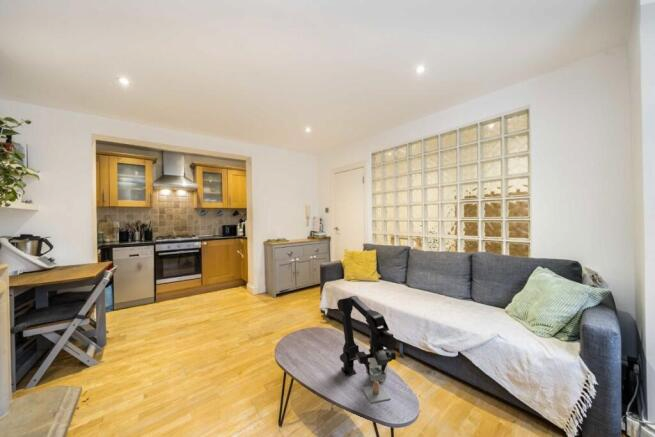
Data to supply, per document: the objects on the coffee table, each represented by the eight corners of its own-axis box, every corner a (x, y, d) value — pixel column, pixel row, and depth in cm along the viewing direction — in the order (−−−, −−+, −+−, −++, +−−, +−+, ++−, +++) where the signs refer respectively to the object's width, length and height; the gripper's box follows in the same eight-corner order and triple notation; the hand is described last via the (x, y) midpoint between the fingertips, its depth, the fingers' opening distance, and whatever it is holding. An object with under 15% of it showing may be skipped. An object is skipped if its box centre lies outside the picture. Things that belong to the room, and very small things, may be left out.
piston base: (362, 388, 123) (362, 377, 123) (380, 385, 126) (380, 374, 126) (370, 403, 114) (370, 391, 114) (390, 399, 116) (390, 387, 116)
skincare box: (368, 376, 133) (368, 347, 133) (373, 370, 138) (373, 342, 138) (383, 382, 128) (383, 352, 128) (387, 376, 134) (388, 347, 133)
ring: (366, 372, 122) (366, 367, 122) (379, 370, 124) (379, 365, 124) (372, 381, 115) (372, 375, 115) (385, 379, 117) (385, 373, 117)
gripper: (364, 351, 110) (364, 387, 110) (402, 347, 114) (401, 381, 114) (355, 339, 120) (355, 372, 120) (390, 336, 125) (390, 367, 125)
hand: (375, 373), depth 120 cm, fingers closed on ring, 7 cm apart
